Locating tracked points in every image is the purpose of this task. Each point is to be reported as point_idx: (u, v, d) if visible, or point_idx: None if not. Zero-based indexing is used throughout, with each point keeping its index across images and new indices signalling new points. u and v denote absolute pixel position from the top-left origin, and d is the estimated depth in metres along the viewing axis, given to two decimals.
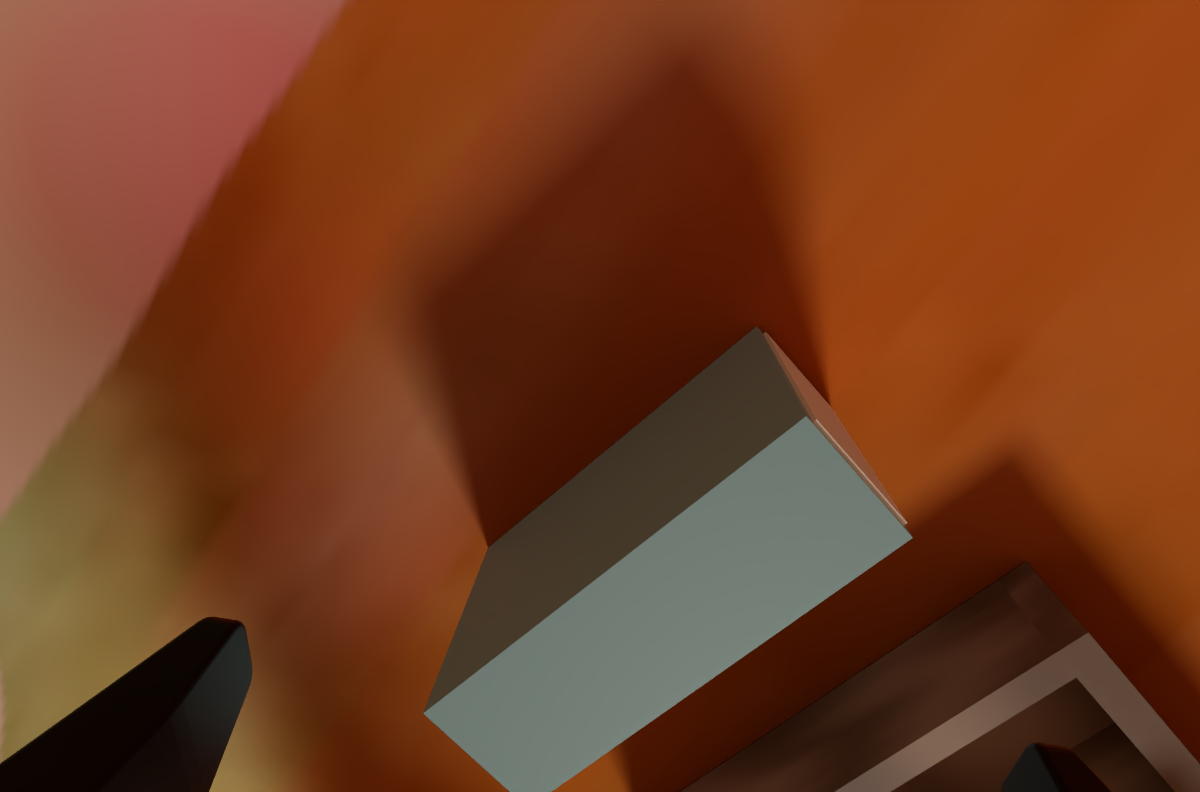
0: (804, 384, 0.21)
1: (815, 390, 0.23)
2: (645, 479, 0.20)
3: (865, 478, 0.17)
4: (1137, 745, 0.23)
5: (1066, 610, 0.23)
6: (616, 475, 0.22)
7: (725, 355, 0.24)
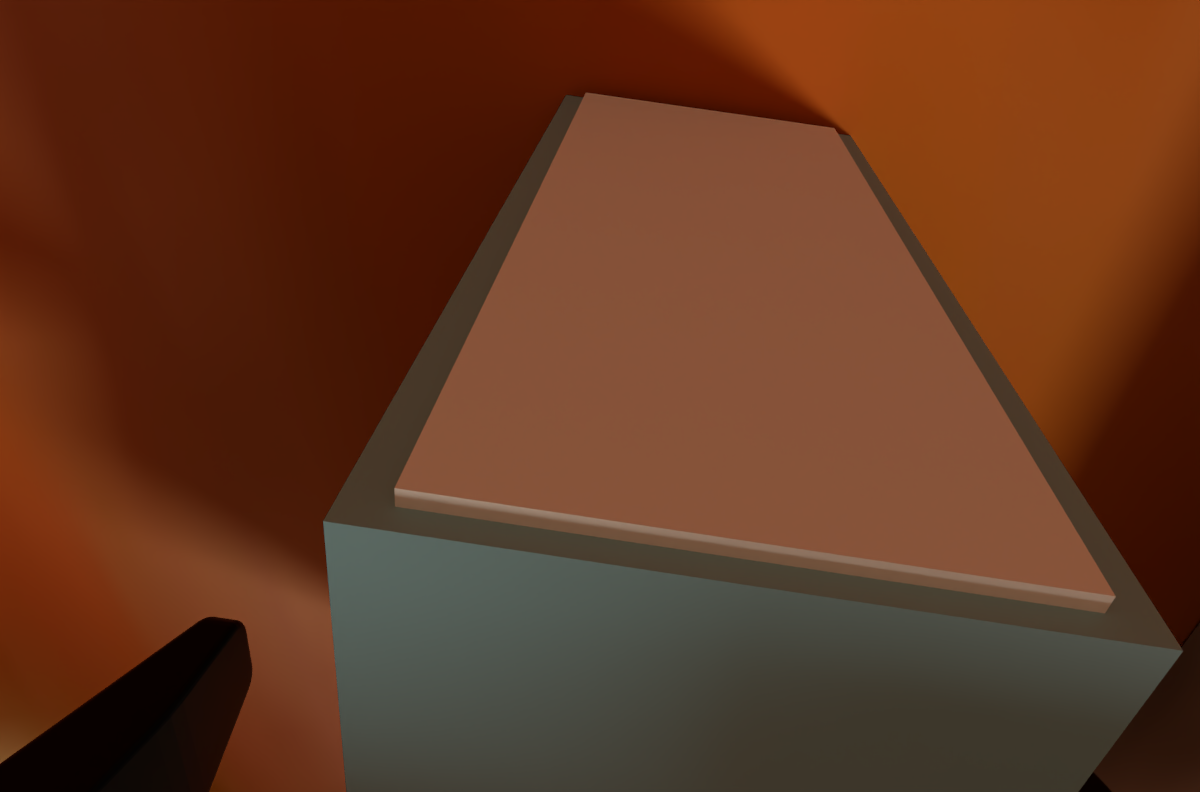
0: (659, 174, 0.07)
1: (763, 130, 0.09)
2: None
3: (785, 553, 0.03)
4: None
5: None
6: None
7: None
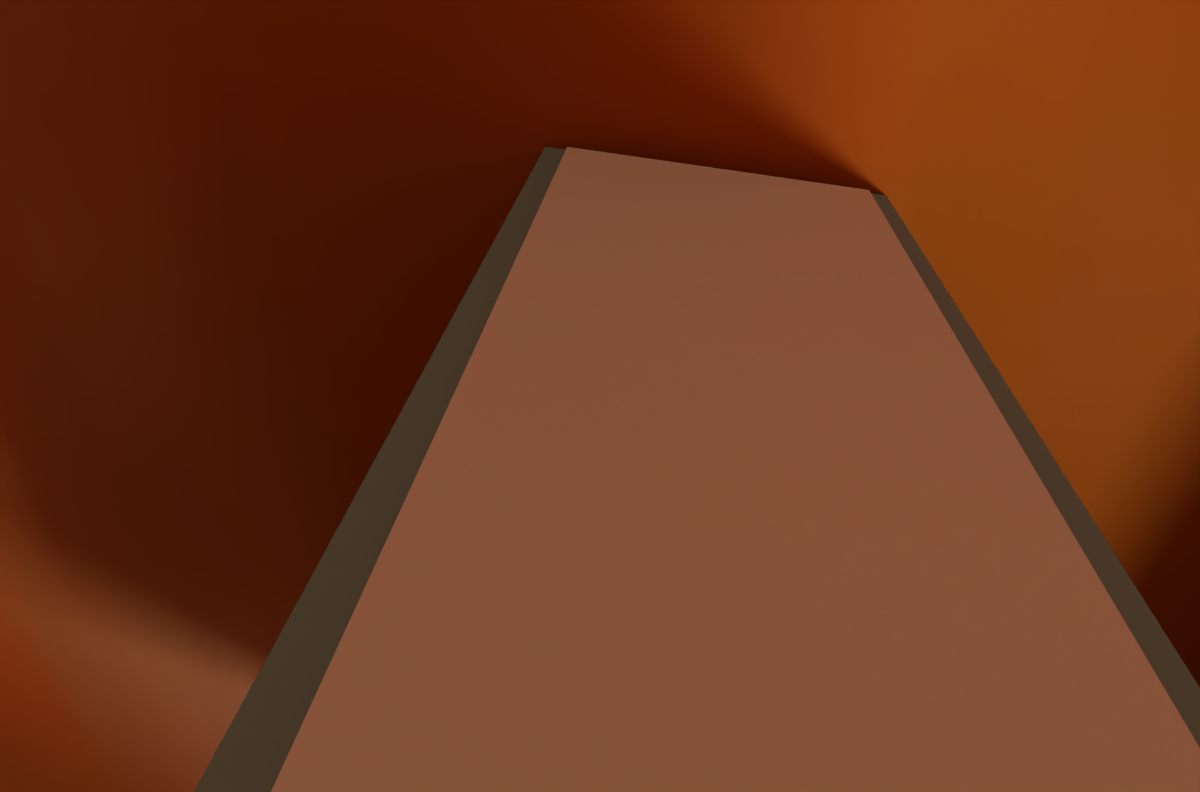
0: (654, 276, 0.06)
1: (784, 197, 0.08)
2: None
3: None
4: None
5: None
6: None
7: None
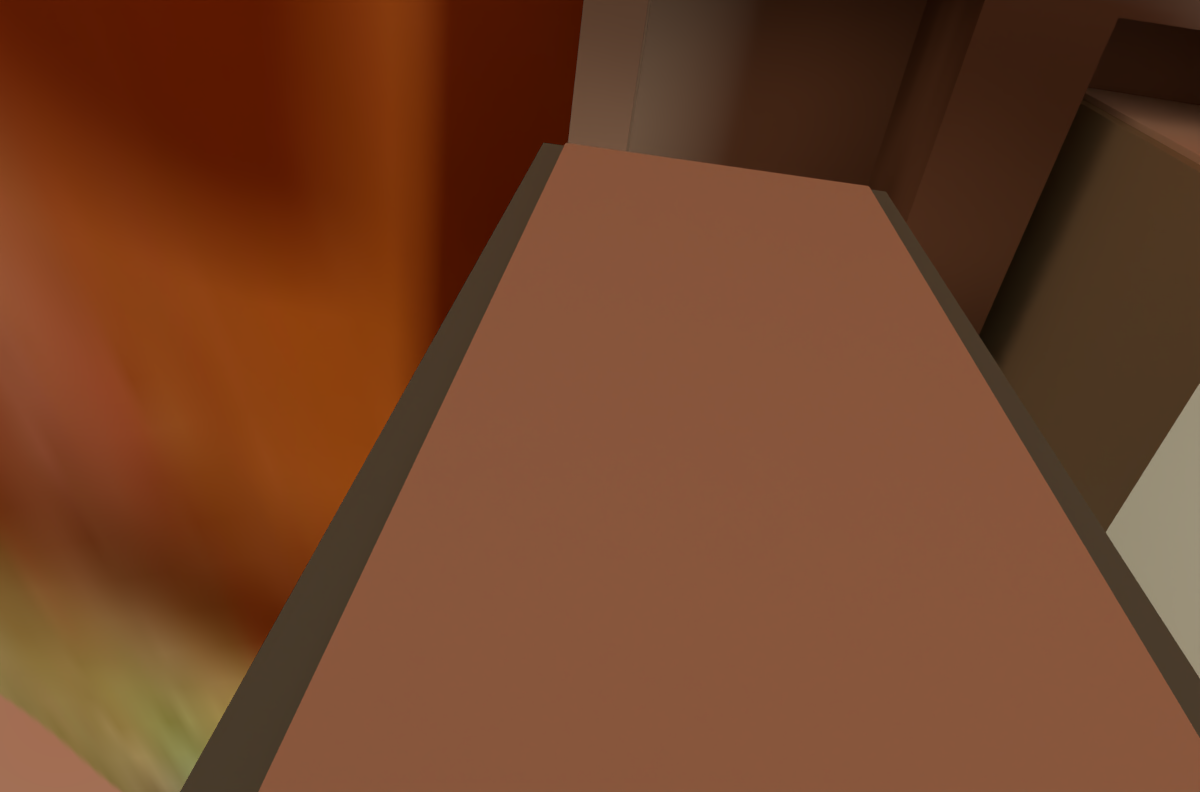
0: (653, 271, 0.06)
1: (783, 193, 0.07)
2: None
3: None
4: None
5: None
6: None
7: None
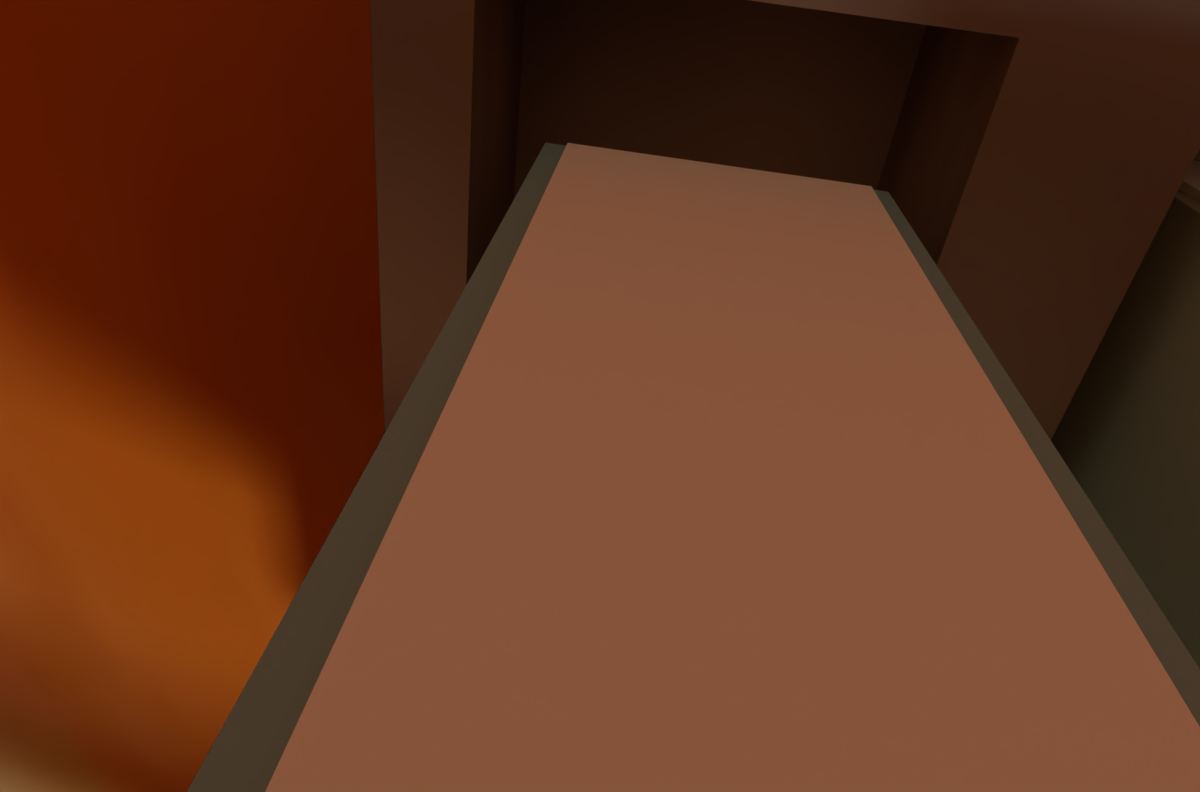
0: (656, 271, 0.06)
1: (786, 193, 0.07)
2: None
3: None
4: (794, 0, 0.07)
5: None
6: None
7: None
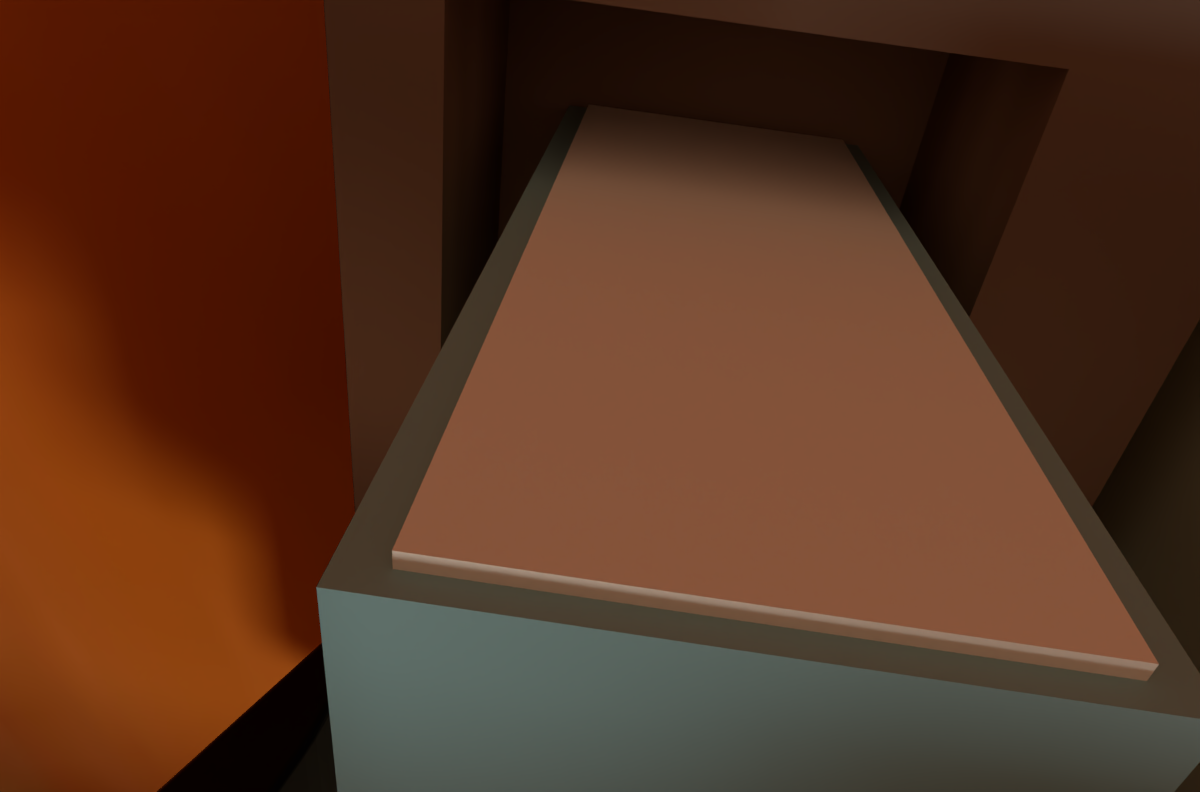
0: (665, 192, 0.07)
1: (770, 143, 0.09)
2: None
3: (807, 618, 0.03)
4: (811, 26, 0.06)
5: None
6: None
7: None
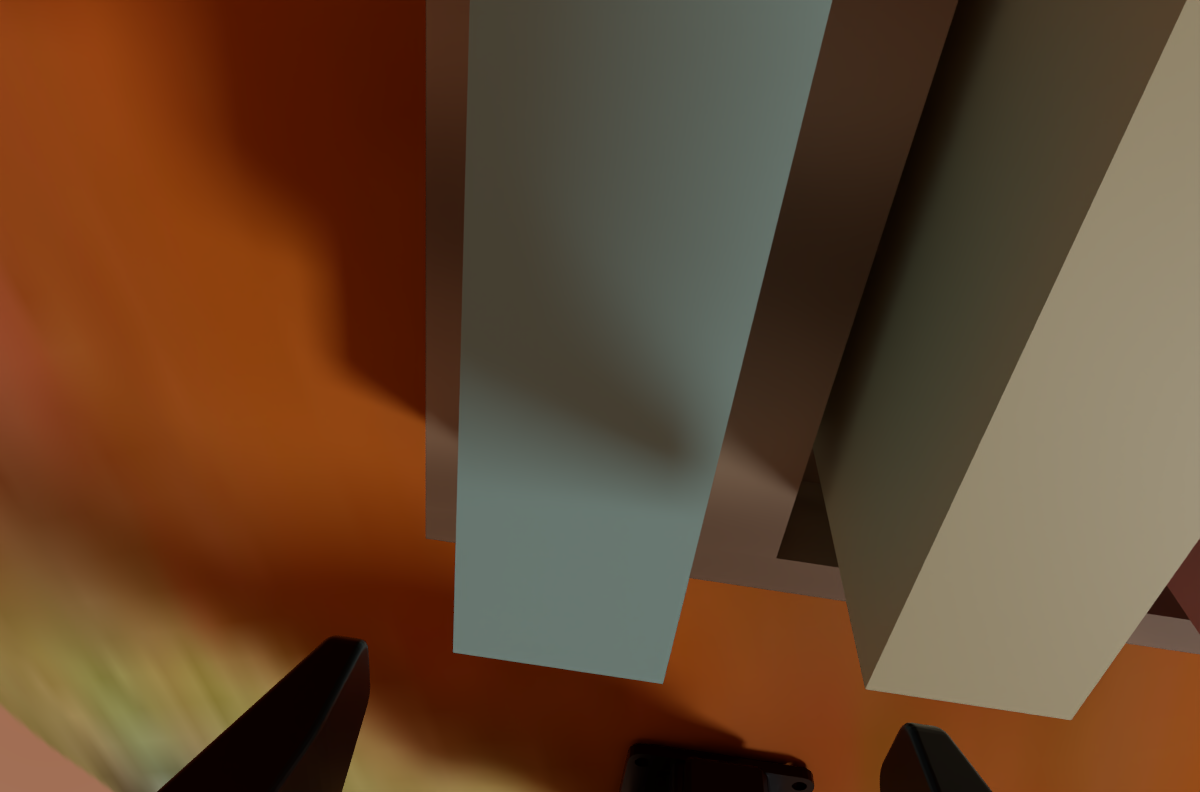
0: None
1: None
2: None
3: None
4: None
5: None
6: None
7: None
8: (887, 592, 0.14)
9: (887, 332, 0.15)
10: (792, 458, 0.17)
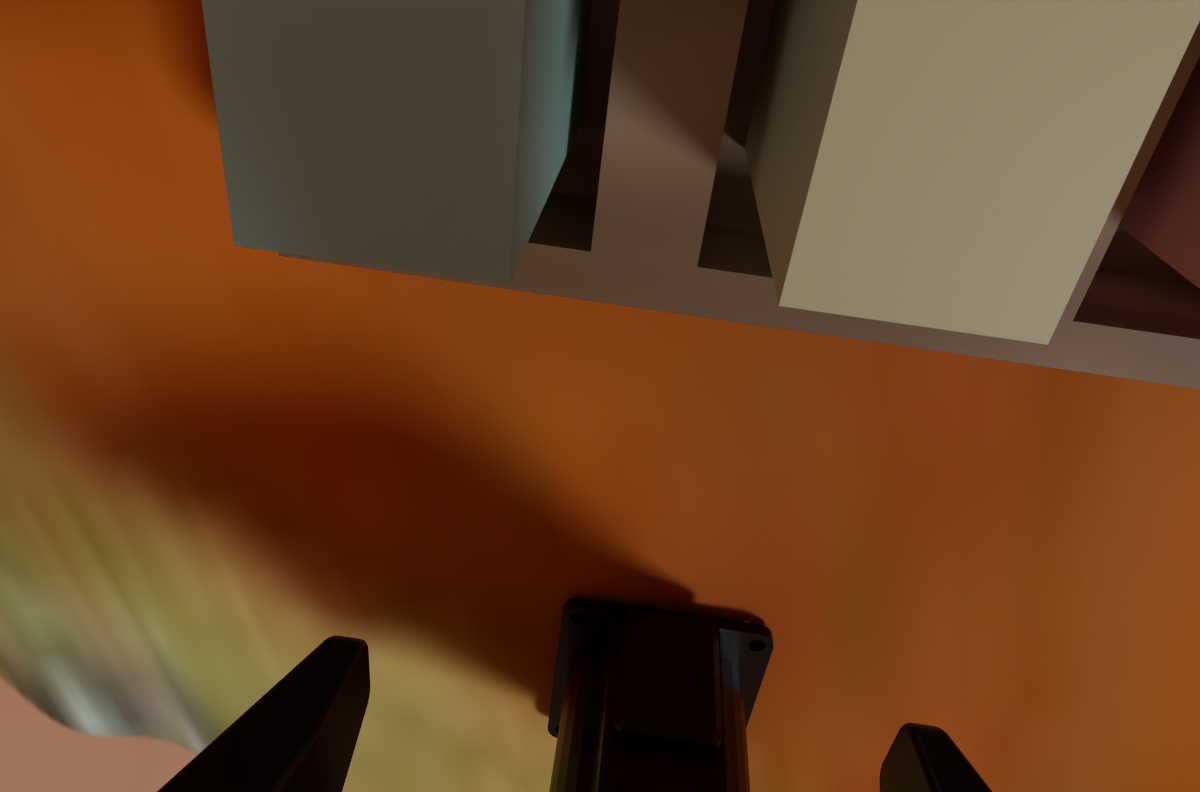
0: None
1: None
2: None
3: None
4: None
5: None
6: None
7: None
8: (804, 166, 0.10)
9: None
10: (707, 110, 0.14)
